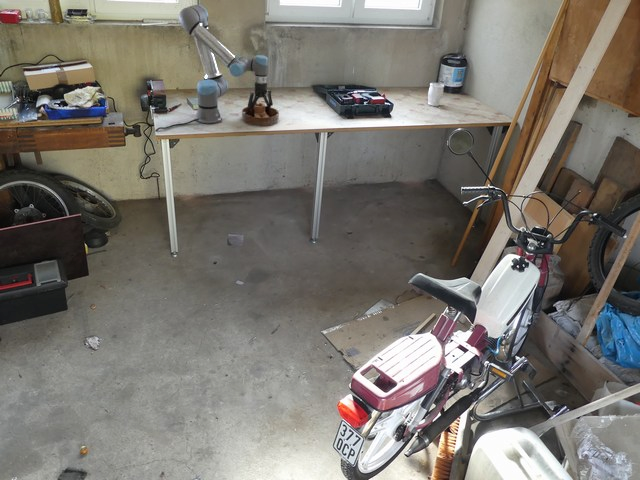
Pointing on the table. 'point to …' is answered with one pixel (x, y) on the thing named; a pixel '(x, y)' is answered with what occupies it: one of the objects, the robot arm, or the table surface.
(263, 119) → the brown shallow bowl
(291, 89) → the table surface
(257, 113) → the bracket
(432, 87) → the jar
